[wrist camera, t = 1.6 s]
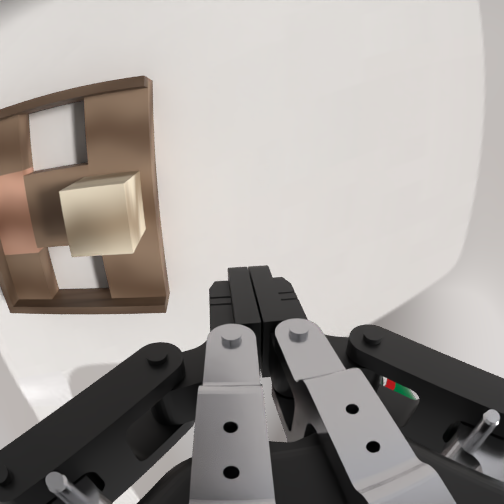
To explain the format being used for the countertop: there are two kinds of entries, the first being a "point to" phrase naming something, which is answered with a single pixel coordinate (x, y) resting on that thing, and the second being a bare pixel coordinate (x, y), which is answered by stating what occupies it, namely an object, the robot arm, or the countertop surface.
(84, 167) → the box
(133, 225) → the birch block
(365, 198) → the countertop surface
